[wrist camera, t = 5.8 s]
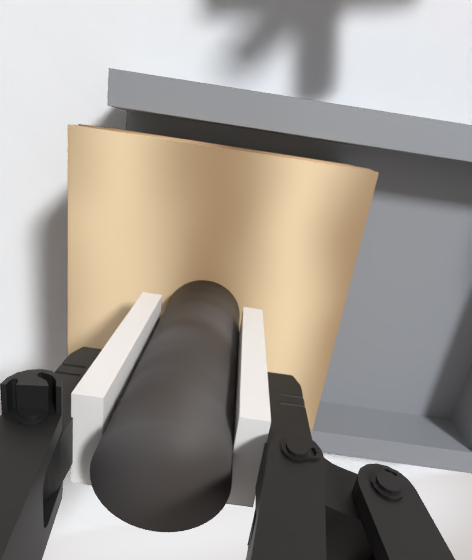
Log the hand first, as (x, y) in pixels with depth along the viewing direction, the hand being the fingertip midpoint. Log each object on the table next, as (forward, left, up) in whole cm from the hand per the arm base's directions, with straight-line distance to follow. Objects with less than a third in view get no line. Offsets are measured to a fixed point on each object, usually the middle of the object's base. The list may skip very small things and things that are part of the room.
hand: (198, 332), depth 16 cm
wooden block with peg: (0, 0, -8) cm, 8 cm away
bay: (+6, 0, -10) cm, 11 cm away
